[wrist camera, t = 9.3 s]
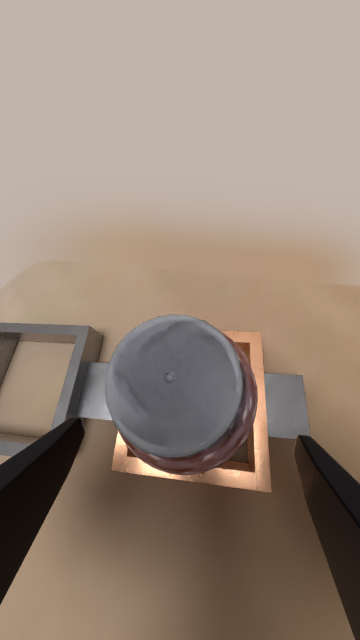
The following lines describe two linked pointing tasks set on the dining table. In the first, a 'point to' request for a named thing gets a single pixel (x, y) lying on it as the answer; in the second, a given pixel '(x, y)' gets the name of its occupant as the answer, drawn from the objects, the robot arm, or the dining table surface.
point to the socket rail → (90, 402)
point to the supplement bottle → (181, 394)
